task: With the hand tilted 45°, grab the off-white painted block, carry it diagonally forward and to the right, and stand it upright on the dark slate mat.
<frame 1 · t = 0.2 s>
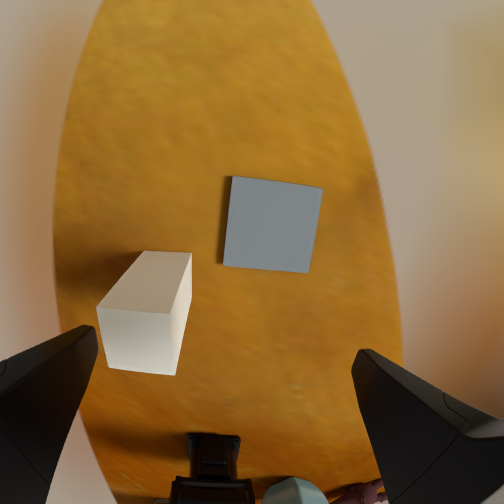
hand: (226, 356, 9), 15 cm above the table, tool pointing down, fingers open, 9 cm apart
ceramic cup: (173, 501, 37), on the table
flower pot: (289, 483, 36), on the table
slate mat: (271, 225, 23), on the table
tall block: (167, 274, 23), on the table
icecream: (353, 486, 40), on the table
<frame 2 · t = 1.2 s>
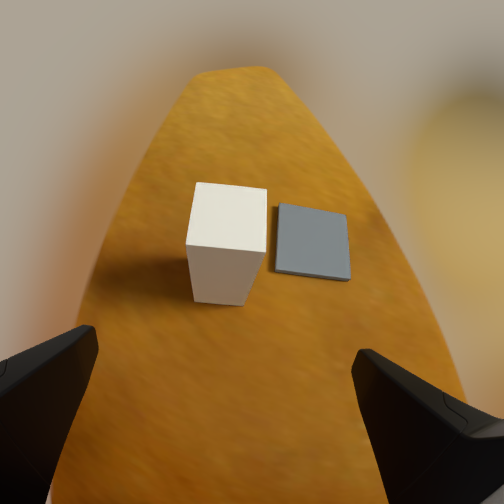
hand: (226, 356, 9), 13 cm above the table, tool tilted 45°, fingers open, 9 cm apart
slate mat: (312, 242, 27), on the table
tall block: (220, 281, 24), on the table
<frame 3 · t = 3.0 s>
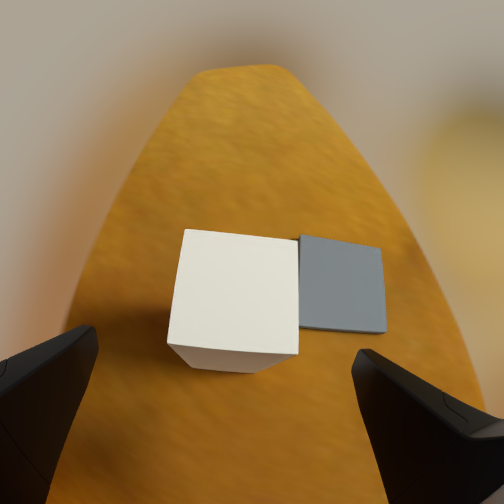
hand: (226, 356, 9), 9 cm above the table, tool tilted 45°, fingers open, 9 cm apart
slate mat: (341, 285, 21), on the table
tall block: (225, 340, 18), on the table
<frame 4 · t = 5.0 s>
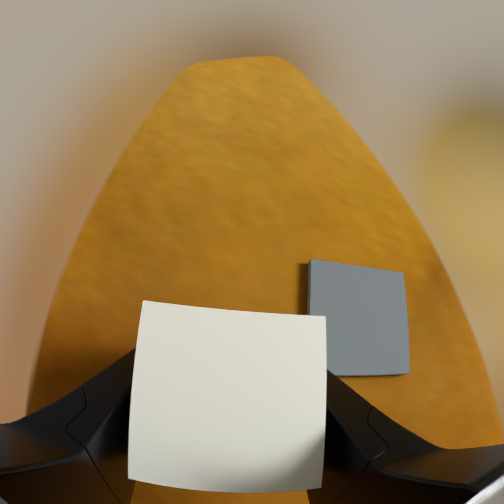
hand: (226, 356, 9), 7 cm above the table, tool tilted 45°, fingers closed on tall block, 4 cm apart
slate mat: (359, 320, 17), on the table
tall block: (219, 394, 14), on the table, touching gripper
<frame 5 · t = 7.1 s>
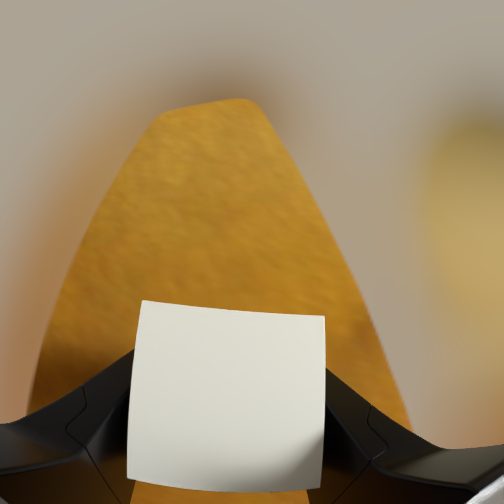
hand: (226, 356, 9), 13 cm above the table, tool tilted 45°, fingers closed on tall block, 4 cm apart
tall block: (219, 394, 14), point 6 cm above the table, touching gripper
when the fingers open (9 cm above the table, at t = 9.1 s): tall block drops 1 cm, resting on slate mat.
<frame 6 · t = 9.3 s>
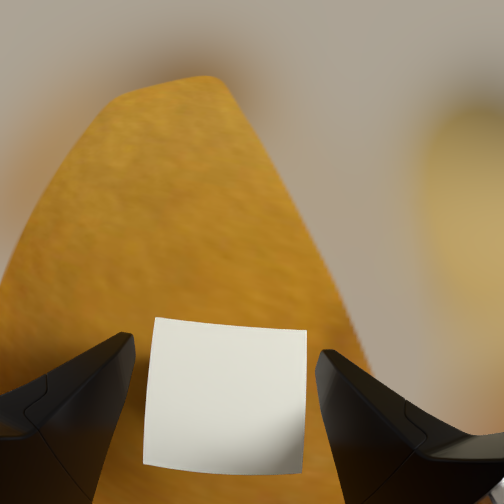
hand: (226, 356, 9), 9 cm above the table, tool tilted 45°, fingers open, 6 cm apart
tall block: (219, 393, 15), point 1 cm above the table, touching slate mat
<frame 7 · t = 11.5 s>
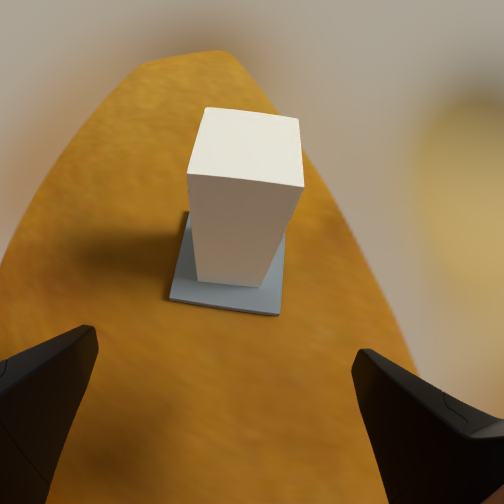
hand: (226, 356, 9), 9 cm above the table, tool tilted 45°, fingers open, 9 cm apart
slate mat: (231, 259, 20), on the table
tall block: (231, 256, 19), point 1 cm above the table, touching slate mat
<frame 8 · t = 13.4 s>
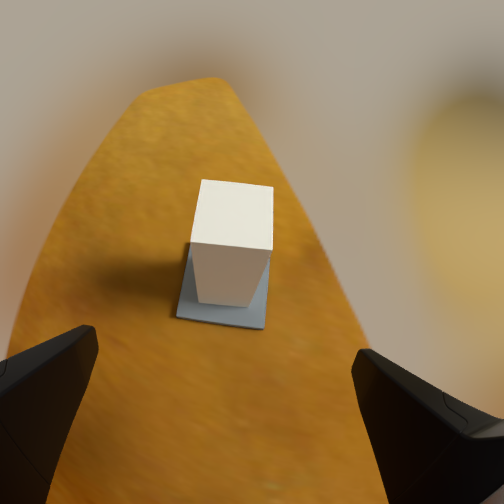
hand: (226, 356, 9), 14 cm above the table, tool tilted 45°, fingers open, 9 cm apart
slate mat: (225, 284, 24), on the table
tall block: (225, 282, 24), point 1 cm above the table, touching slate mat
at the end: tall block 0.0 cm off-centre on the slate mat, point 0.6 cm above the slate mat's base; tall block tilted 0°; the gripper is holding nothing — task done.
